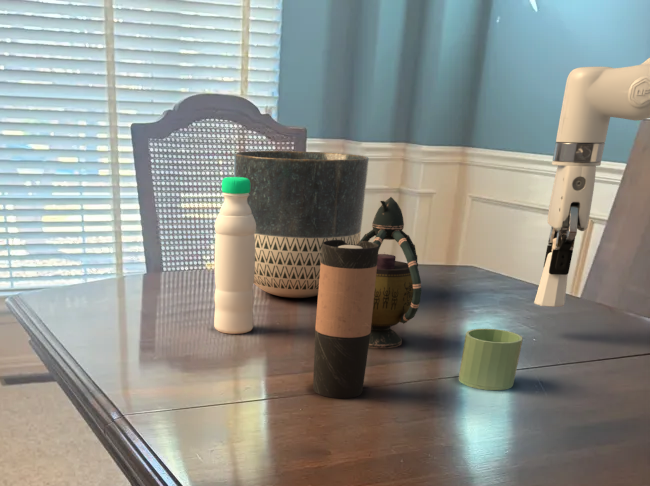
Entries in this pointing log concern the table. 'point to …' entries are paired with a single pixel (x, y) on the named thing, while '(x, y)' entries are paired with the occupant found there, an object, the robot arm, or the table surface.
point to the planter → (300, 213)
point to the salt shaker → (551, 286)
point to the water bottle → (234, 259)
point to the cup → (490, 359)
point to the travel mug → (344, 317)
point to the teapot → (392, 278)
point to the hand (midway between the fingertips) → (555, 270)
